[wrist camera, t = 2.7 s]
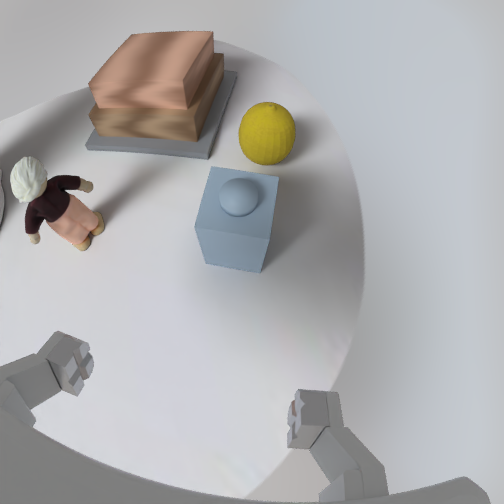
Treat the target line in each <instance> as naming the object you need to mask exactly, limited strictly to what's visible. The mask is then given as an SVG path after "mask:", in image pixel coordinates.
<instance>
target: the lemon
mask: <svg viewBox="0 0 504 504" xmlns="http://www.w3.org/2000/svg"><path fill="white" fill-rule="evenodd" d="M294 141H295V124H294V120H293V118H292V116H291V114H290V113H289V112H288V110H286V109H285V108H284V107H283V106H281V105H279V104H276V103H272V102H263V103H259V104H257V105H254V106H253V107H251V108H250V109H249V110H248V111H247V112H246V114H245V115H244V116H243V118H242V121H241V124H240V128H239V143H240V146H241V149H242V151H243V153H244V154H245V155H246V157H247V158H248V159H250V160H251V161H252V162H255V163H257V164H260V165H273V164H276V163H278V162H280V161H282V160H283V159H284V158H286V156H287V155H288V154H289V152H290V151H291V149H292V147H293V144H294Z"/></svg>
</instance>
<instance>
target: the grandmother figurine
mask: <svg viewBox="0 0 504 504" xmlns="http://www.w3.org/2000/svg"><path fill="white" fill-rule="evenodd" d="M10 177H11V179H10V182H11V187H12V192H13V194H14V195H15V197H16V198H18V199H19V200H20V202H19V203H22V202H25V203H28V202H29V204H28V207H27V210H26V215H25V230H26V233H27V234H28V235H29V237H30V240H31V242H32V243H33V244H38V243H39V241H40V235H39V231H38V230H39V228H40V225H41V224H42V222H43V220H44V219H45V220H46V222H47V224H48V225H49V226H50V227H51V228H52V229H53V230H54V231H55V232H56V233H57V234H59V235H60V236H61V237H62V238H64V239H66V240H67V241H69V242H70V243H72V245H73V246H75V247H76V248H77V249H79V250H80V251H85V250H86V249H87V248H88V247H89V245H90V238H89V237H88V234H89V232H90V231H91V233H92V234H93V235H99V234H100V233H102V232H103V230H104V223H103V218H102V215H101V214H100V213H99V212H92V211H91V210H90V209H89V208H87V207H86V206H85V205H84V204H83V203H82V202H81V201H80V200H79V199H77V198H76V197H75V196H74V195H71V194H69V193H67V192H66V191H65V190H80V191H84V192H87V193H89V192H91V191H92V190H93V184H92V182H90V181H86V180H84V179H82V178H80V177H79V176H71V175H58V176H55V177H53V178H51V179H49V180H48V181H47V171H46V170H45V169H44V166H43V164H41V163H40V161H39V160H37V159H35V158H34V157H31V156H29V157H23V158H22V159H21V160H20V161H19V162H17V163H16V164H15V166H14V168H13V170H12V172H11V175H10Z"/></svg>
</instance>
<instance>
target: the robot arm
mask: <svg viewBox="0 0 504 504" xmlns="http://www.w3.org/2000/svg"><path fill="white" fill-rule="evenodd" d="M1 177H2V170H1V169H0V224H1V220H2V216H3V210H4V192H3V189H2V186H1ZM89 350H90V347H89V344H88V343H87V342H84V341H82V340H79V339H77V338H75V337H72V336H70V335H67V334H65V333H62V332H60V331H57V332H55V333H54V334H53V335H52V336H51V337H50V338H49V340H48V341H47V342H46V343H45V344H44V346H43V347H42V348H41V349H40V350H39V352H38V353H37V354H31V355H29V356H26V357H24V358H21V359H18V360H16V361H13V362H11V363H8V364H6V365H3V366H1V367H0V504H490V500H489V497H488V495H487V493H486V492H485V491H484V490H483V489H482V488H481V487H479V486H478V485H477V484H476V483H474V482H473V481H472V480H470V479H469V478H467V477H459V478H455V479H452V480H449V481H446V482H442V483H439V484H435V485H432V486H428V487H424V488H420V489H416V490H412V491H407V492H402V493H397V494H392V495H389V493H388V487H387V481H386V475H385V470H384V466H383V465H382V464H381V463H380V462H379V461H378V460H377V459H376V457H375V456H374V455H373V454H372V453H371V452H370V451H369V450H368V449H367V448H366V447H365V446H364V445H363V443H362V442H361V441H360V440H359V439H358V438H357V437H356V436H355V435H354V434H353V433H352V432H351V430H350V429H349V428H348V427H344V424H343V417H342V411H341V405H340V399H339V394H338V393H337V392H328V391H317V390H303V389H298V390H297V391H296V393H295V400H294V401H292V402H291V405H290V407H289V411H288V425H289V426H290V430H289V431H288V433H287V448H296V449H310V450H309V451H310V453H311V454H312V456H313V457H314V459H315V460H316V462H317V463H318V465H319V466H320V468H321V469H322V471H323V472H324V474H325V475H326V477H327V478H328V480H329V481H330V483H331V484H330V485H329V486H327V487H326V488H325V489H324V490H323V491H321V492H320V493H319V502H304V503H303V502H271V501H258V500H247V499H239V498H231V497H224V496H218V495H212V494H206V493H201V492H196V491H192V490H187V489H183V488H178V487H174V486H170V485H167V484H163V483H159V482H156V481H152V480H149V479H146V478H143V477H140V476H137V475H134V474H131V473H128V472H125V471H122V470H120V469H117V468H114V467H112V466H109V465H107V464H104V463H102V462H99V461H97V460H95V459H92V458H90V457H88V456H86V455H83V454H81V453H79V452H77V451H75V450H73V449H71V448H69V447H67V446H65V445H63V444H61V443H59V442H57V441H55V440H54V439H52V438H50V437H48V436H46V435H45V434H43V433H41V432H39V431H38V430H36V429H34V428H33V425H34V424H35V422H36V418H35V416H34V415H33V414H32V412H31V411H30V410H31V409H32V408H34V407H36V406H37V405H39V404H41V403H42V402H44V401H45V400H47V399H49V398H50V397H52V396H54V395H55V394H57V393H59V392H60V391H61V390H63V391H65V392H68V393H70V394H72V395H75V396H77V397H78V395H79V393H80V392H81V390H82V388H83V387H84V380H85V379H87V378H89V377H90V375H91V373H92V371H93V367H94V361H93V357H92V356H91V354H90V353H89Z"/></svg>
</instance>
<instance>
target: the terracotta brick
mask: <svg viewBox="0 0 504 504" xmlns="http://www.w3.org/2000/svg"><path fill="white" fill-rule="evenodd" d="M223 77H224V54H222V53H214V42H213V32H210V31H179V32H177V31H176V32H156V33H142V34H132V35H131V36H130V37H129V38H128V39H127V40H126V41H125V42H124V43H123V44H122V45H121V46H120V47H119V48H118V49H117V50H116V51H115V53H114V54H113V55H112V56H111V57H110V58H109V59H108V60H107V61H106V63H105V64H104V65H103V66H102V67H101V69H100V70H99V71H98V72H97V73H96V74H95V76H94V77H93V78H92V80H91V81H90V82H89V83H88V84H89V87H90V89H91V91H92V94H93V96H94V98H95V101H96V104H95V106H94V107H93V108H92V110H91V111H90V113H89V117H90V119H91V121H92V123H93V125H94V127H95V129H96V131H97V133H98V135H99V136H110V137H137V138H154V139H168V140H180V141H191V142H198V139H199V137H200V134H201V131H202V129H203V126H204V124H205V121H206V118H207V116H208V113H209V111H210V108H211V106H212V103H213V101H214V99H215V96H216V94H217V91H218V89H219V87H220V84H221V82H222V80H223Z"/></svg>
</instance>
